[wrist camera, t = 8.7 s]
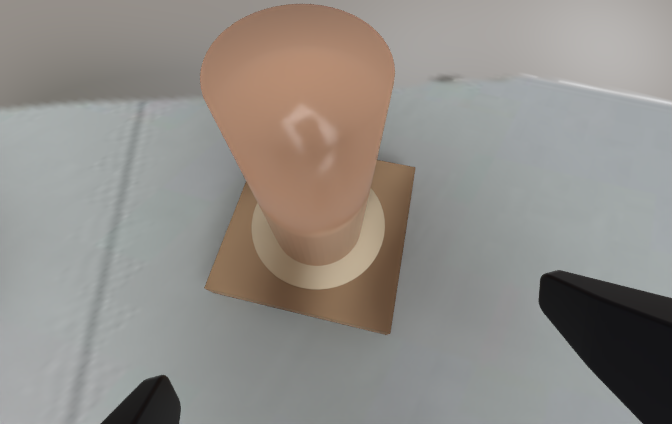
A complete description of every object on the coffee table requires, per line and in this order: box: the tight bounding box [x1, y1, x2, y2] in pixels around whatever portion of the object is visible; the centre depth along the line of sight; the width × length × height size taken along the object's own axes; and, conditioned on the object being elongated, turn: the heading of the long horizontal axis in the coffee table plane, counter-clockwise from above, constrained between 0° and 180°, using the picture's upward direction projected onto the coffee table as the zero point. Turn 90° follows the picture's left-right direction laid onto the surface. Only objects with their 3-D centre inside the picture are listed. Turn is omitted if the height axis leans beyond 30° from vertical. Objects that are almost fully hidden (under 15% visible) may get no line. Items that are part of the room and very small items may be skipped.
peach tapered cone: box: [200, 4, 395, 266], centre depth 15 cm, size 6×6×12 cm
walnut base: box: [204, 160, 415, 335], centre depth 21 cm, size 11×11×2 cm
